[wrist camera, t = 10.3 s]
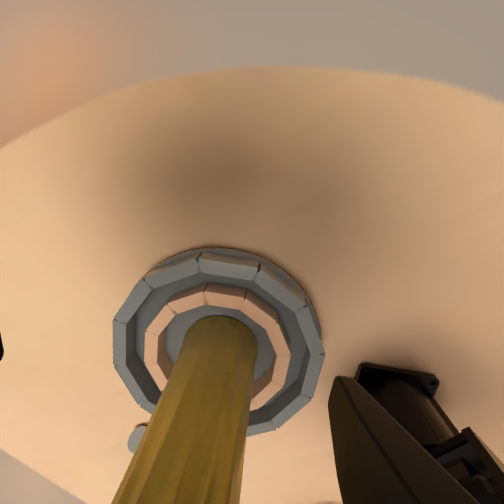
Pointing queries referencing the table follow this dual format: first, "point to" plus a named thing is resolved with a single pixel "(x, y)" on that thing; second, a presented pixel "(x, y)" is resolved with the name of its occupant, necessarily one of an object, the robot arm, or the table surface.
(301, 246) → the table surface
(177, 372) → the vase
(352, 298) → the table surface
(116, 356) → the grooved tray
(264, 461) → the table surface
